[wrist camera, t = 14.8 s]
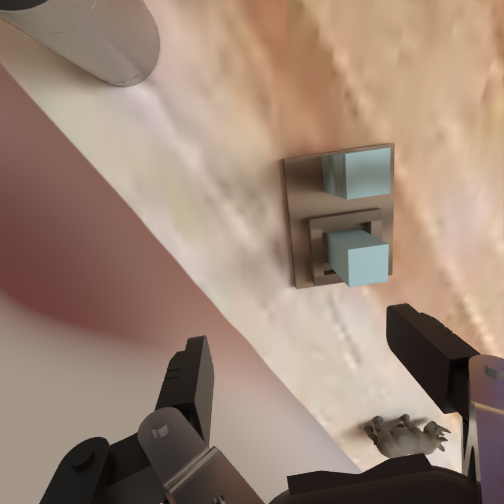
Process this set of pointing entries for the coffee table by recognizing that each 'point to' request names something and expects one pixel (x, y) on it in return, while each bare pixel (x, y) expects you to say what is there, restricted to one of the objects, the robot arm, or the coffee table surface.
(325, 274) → the walnut board
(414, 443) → the rhino figurine
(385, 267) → the teal block
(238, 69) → the coffee table surface
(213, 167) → the coffee table surface
